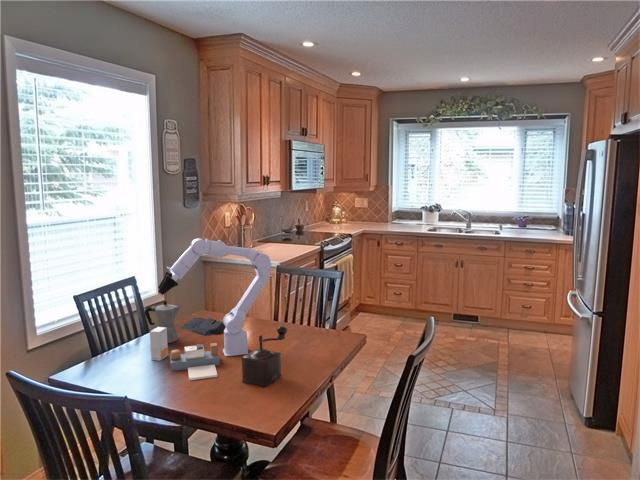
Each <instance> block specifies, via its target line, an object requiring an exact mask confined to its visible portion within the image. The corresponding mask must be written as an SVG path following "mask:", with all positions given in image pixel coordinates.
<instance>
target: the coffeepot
mask: <svg viewBox="0 0 640 480" xmlns="http://www.w3.org/2000/svg"><path fill="white" fill-rule="evenodd" d="M162 302H163V303H162V304H161V305H157V306H147V307H146V308H145V310H144V313H143V314H144V315H145V317H146V320H147V322H148V324H149V325H151V326H155V324H156V323H155V322H153V321H152V318H151V316H150V315H151V314H150V312H155V319H156V322H157V324H158V326H157V327H166V328H167V344H171V343H174V342H176V341H177V340H178V339H179V337H178V333H177V328H176V325H175V321H176V316H177V314H178V312H179V310H180V309H181V308H182V307H181V306H179V305H174V304H167V303H168V301H167V300H163V301H162Z"/></svg>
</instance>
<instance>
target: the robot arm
mask: <svg viewBox="0 0 640 480" xmlns="http://www.w3.org/2000/svg"><path fill="white" fill-rule="evenodd" d="M204 255H207V256H217V257H224V255H230V256H231V255H232V256H238V257H243V258H246V259H248V260H249V261H250V263H251V264H252V266H253V267H254V271H255V273H256V276H255V277H254V278H253V280H252V282H251V283H250V284H249V286H248V287H247V289H246V290H245V292H244V293H243V294H242V297H241V298H240V299H239V302H237V304H236V306H235V307H233V308H232V309H231V310H230V312H228V313H226V314H225V315H224V317H223V319H222V322H223V324H224V325H225V326H226V328H225V330H224V332H223V343H224V348H223V349H222V352H223V354H224V357H225V358H226V357H234V356H243V355H247V354H249V350H248V348H249V345H248V332H247V330H246V329H245V330H243V324H244V322H245V319H246V316H247V313H248V311H250V308H251V307H252V306H253V304H254V302H255V301H256V300H257V298H258V297H259V295H260V293H261V292H262V291H263V289H264V287H265V286H266V285H267V283H268V281H269V280H270V276H271V266H272V261H271V259H270V256H269V255H268V254H266V253H264V252H263V251H262V250H256V249H255V248H254V249H253V248H251V247H241V246H240V247H239V246H231V245H227V244H226V243H225V242H223V241H222V240H220V239H218V240H209V238H205V240H204V239H203V238H195V239H193V240H191V242H190V245H189V247H188V248H187V249H186V250H185V251H184V252H183V253H182V255H181V256H179V258H178V259H177V260H176V261H175V262H174V263H173V265H172V266H171V267H170V266H166V269H168V271H167V270H166V271H165V273H164V275H163V278H162V280H161V282H160V283H159V285H158V286H157V289H158V293H159V294H160V295H162V296H163V295H165V294H166V293H167V292H169V291H170V290H172V289H173V288H174V287H178V286H179V283H178V282H177V281H178V280H182V279H183V277H184V276H185V275H186V274H187V273H188V271H189V270H190V269H191V268H192V267H193V266H194V264H195V263H196V262H197V261H198V259H199V258H200V257H201V256H204Z"/></svg>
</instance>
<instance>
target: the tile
mask: <svg viewBox="0 0 640 480" xmlns="http://www.w3.org/2000/svg"><path fill="white" fill-rule="evenodd" d="M187 375H188V380H189V381H196V380H204V379H209V378H211V379H212V378H217V377H218V371H217V369H216V365H215V364H213V365H206V366H198V367H190V368H188V369H187Z"/></svg>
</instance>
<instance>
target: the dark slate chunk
mask: <svg viewBox="0 0 640 480" xmlns="http://www.w3.org/2000/svg"><path fill="white" fill-rule="evenodd" d="M182 328H183V329H182ZM225 328H226V326H225V325H224V324H223V321H221V320H216V319H213V318H211V317H209V318H207V319H206V318H203V317H194V318H192V319H190V320H188V321H187V322H186V323H184V324H183V325H181V326H180V329H182V330H185V329H186V330H185V331H188V330H189V332H191V333H194V334H196V335H197V334H198V335H201V336H203V335H204V337H207V335H208V337H211V336H212V335H216V334H221V333H224V330H225Z"/></svg>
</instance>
